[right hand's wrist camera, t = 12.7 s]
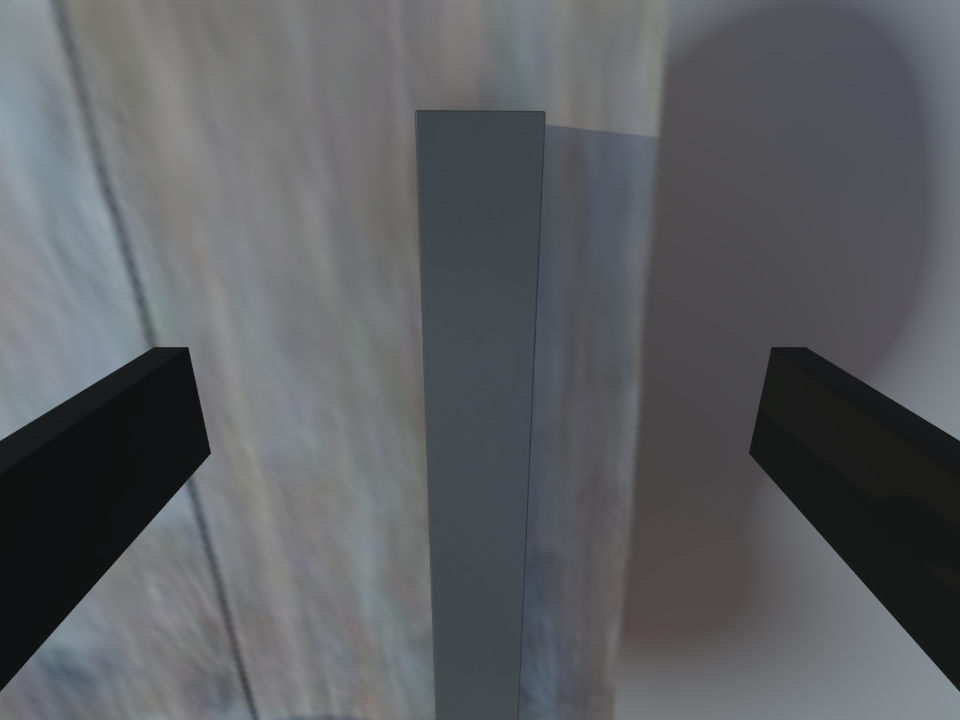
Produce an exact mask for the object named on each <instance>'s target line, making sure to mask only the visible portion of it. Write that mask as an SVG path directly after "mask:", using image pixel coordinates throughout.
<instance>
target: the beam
mask: <svg viewBox="0 0 960 720" xmlns="http://www.w3.org/2000/svg"><path fill="white" fill-rule="evenodd" d="M415 126H416V155H417V185H418V215H419V244H420V274H421V303H422V333H423V362H424V392H425V421H426V451H427V480H428V510H429V539H430V569H431V598H432V628H433V657H434V687H435V717H436V720H518V711H519V689H520V667H521V645H522V623H523V601H524V578H525V556H526V534H527V512H528V490H529V468H530V446H531V423H532V401H533V379H534V357H535V335H536V313H537V290H538V268H539V246H540V224H541V202H542V180H543V158H544V135H545V112H544V111H449V110H417V111H415Z"/></svg>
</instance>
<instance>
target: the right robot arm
mask: <svg viewBox="0 0 960 720" xmlns="http://www.w3.org/2000/svg"><path fill="white" fill-rule="evenodd" d="M210 454H211V451H210V447H209V442H208V437H207V433H206V428H205V423H204V419H203V414H202V409H201V405H200V400H199V395H198V391H197V386H196V381H195V376H194V372H193V367H192V362H191V358H190V353H189V348H188V347H154V348H152V349H151V350H149V351H147V352H146V353H144V354H142V355H141V356H139V357H137V358H136V359H134V360H132V361H131V362H129V363H128V364H126V365H124V366H123V367H121V368H119V369H118V370H116V371H114V372H113V373H111V374H109V375H108V376H106V377H105V378H103V379H101V380H100V381H98V382H96V383H95V384H93V385H91V386H90V387H88V388H86V389H85V390H83V391H82V392H80V393H78V394H77V395H75V396H73V397H72V398H70V399H68V400H67V401H65V402H63V403H62V404H60V405H58V406H57V407H55V408H54V409H52V410H50V411H49V412H47V413H45V414H44V415H42V416H40V417H39V418H37V419H35V420H34V421H32V422H31V423H29V424H27V425H26V426H24V427H22V428H21V429H19V430H17V431H16V432H14V433H12V434H11V435H9V436H8V437H6V438H4V439H3V440H1V441H0V691H1V690H2V689H3V688H4V687H5V686H6V685H7V683H8V682H9V681H10V680H11V679H12V678H13V677H14V676H15V674H16V673H17V672H18V671H19V670H20V669H21V668H22V667H23V665H24V664H25V663H26V662H27V661H28V660H29V659H30V657H31V656H32V655H33V654H34V653H35V652H36V651H37V650H38V648H39V647H40V646H41V645H42V644H43V643H44V642H45V641H46V639H47V638H48V637H49V636H50V635H51V634H52V633H53V631H54V630H55V629H56V628H57V627H58V626H59V625H60V624H61V622H62V621H63V620H64V619H65V618H66V617H67V616H68V615H69V613H70V612H71V611H72V610H73V609H74V608H75V607H76V605H77V604H78V603H79V602H80V601H81V600H82V599H83V598H84V596H85V595H86V594H87V593H88V592H89V591H90V590H91V588H92V587H93V586H94V585H95V584H96V583H97V582H98V581H99V579H100V578H101V577H102V576H103V575H104V574H105V573H106V572H107V570H108V569H109V568H110V567H111V566H112V565H113V564H114V562H115V561H116V560H117V559H118V558H119V557H120V556H121V555H122V553H123V552H124V551H125V550H126V549H127V548H128V547H129V546H130V544H131V543H132V542H133V541H134V540H135V539H136V538H137V536H138V535H139V534H140V533H141V532H142V531H143V530H144V529H145V527H146V526H147V525H148V524H149V523H150V522H151V521H152V520H153V518H154V517H155V516H156V515H157V514H158V513H159V512H160V510H161V509H162V508H163V507H164V506H165V505H166V504H167V503H168V501H169V500H170V499H171V498H172V497H173V496H174V495H175V493H176V492H177V491H178V490H179V489H180V488H181V487H182V486H183V484H184V483H185V482H186V481H187V480H188V479H189V478H190V477H191V475H192V474H193V473H194V472H195V471H196V470H197V469H198V467H199V466H200V465H201V464H202V463H203V462H204V461H205V460H206V458H207V457H208V456H209V455H210ZM749 454H750V455H751V456H752V457H753V458H754V460H755V461H756V462H757V463H758V464H759V465H760V466H761V467H762V469H763V470H764V471H765V472H766V473H767V474H768V475H769V477H770V478H771V479H772V480H773V481H774V482H775V483H776V484H777V486H778V487H779V488H780V489H781V490H782V491H783V492H784V493H785V495H786V496H787V497H788V498H789V499H790V500H791V501H792V503H793V504H794V505H795V506H796V507H797V508H798V509H799V510H800V512H801V513H802V514H803V515H804V516H805V517H806V518H807V520H808V521H809V522H810V523H811V524H812V525H813V526H814V527H815V529H816V530H817V531H818V532H819V533H820V534H821V535H822V536H823V538H824V539H825V540H826V541H827V542H828V543H829V544H830V546H831V547H832V548H833V549H834V550H835V551H836V552H837V553H838V555H839V556H840V557H841V558H842V559H843V560H844V561H845V562H846V564H847V565H848V566H849V567H850V568H851V569H852V570H853V572H854V573H855V574H856V575H857V576H858V577H859V578H860V579H861V581H862V582H863V583H864V584H865V585H866V586H867V587H868V588H869V590H870V591H871V592H872V593H873V594H874V595H875V596H876V598H877V599H878V600H879V601H880V602H881V603H882V604H883V605H884V607H885V608H886V609H887V610H888V611H889V612H890V613H891V615H892V616H893V617H894V618H895V619H896V620H897V621H898V622H899V624H900V625H901V626H902V627H903V628H904V629H905V630H906V631H907V633H908V634H909V635H910V636H911V637H912V638H913V639H914V641H915V642H916V643H917V644H918V645H919V646H920V647H921V648H922V650H923V651H924V652H925V653H926V654H927V655H928V656H929V657H930V659H931V660H932V661H933V662H934V663H935V664H936V665H937V667H938V668H939V669H940V670H941V671H942V672H943V673H944V674H945V676H946V677H947V678H948V679H949V680H950V681H951V682H952V683H953V685H954V686H955V687H956V688H957V689H958V690H959V691H960V441H959V440H957V439H956V438H954V437H952V436H951V435H949V434H947V433H946V432H944V431H943V430H941V429H939V428H938V427H936V426H934V425H933V424H931V423H929V422H928V421H926V420H924V419H923V418H921V417H920V416H918V415H916V414H915V413H913V412H911V411H910V410H908V409H906V408H905V407H903V406H902V405H900V404H898V403H897V402H895V401H893V400H892V399H890V398H888V397H887V396H885V395H883V394H882V393H880V392H878V391H877V390H875V389H874V388H872V387H870V386H869V385H867V384H865V383H864V382H862V381H860V380H859V379H857V378H855V377H854V376H852V375H851V374H849V373H847V372H846V371H844V370H842V369H841V368H839V367H837V366H836V365H834V364H832V363H831V362H829V361H828V360H826V359H824V358H823V357H821V356H819V355H818V354H816V353H814V352H813V351H811V350H809V349H808V348H806V347H772V348H771V353H770V358H769V362H768V367H767V372H766V376H765V381H764V386H763V391H762V395H761V400H760V405H759V409H758V414H757V419H756V423H755V428H754V433H753V437H752V442H751V447H750V451H749Z"/></svg>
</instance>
